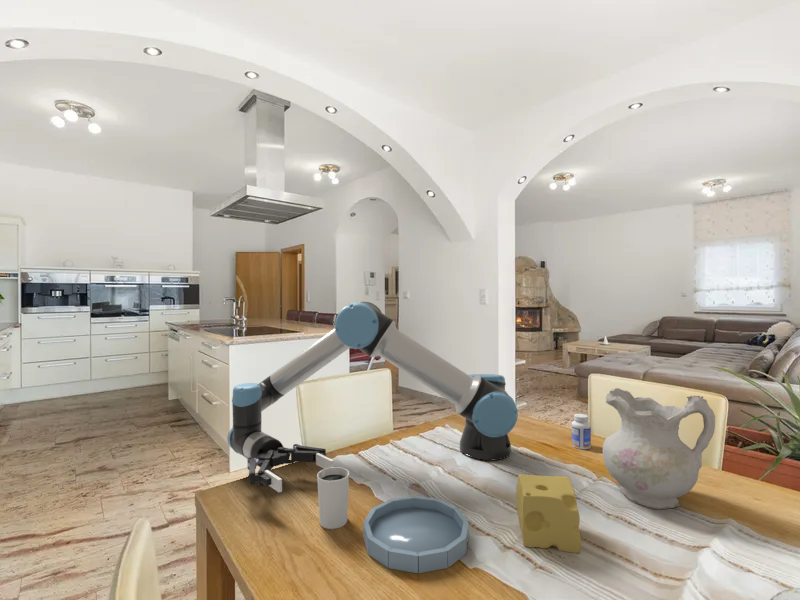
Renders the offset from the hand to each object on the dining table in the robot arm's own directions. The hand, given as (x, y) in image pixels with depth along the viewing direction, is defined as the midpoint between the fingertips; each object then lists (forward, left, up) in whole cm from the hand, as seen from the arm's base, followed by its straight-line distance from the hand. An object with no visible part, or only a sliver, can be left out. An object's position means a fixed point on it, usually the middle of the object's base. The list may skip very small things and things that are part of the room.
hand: (308, 475), depth 92 cm
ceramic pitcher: (-78, +18, -7) cm, 80 cm away
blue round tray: (-20, +18, -6) cm, 28 cm away
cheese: (-45, +24, -7) cm, 51 cm away
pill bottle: (-83, -13, -7) cm, 84 cm away
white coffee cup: (-5, +8, -7) cm, 12 cm away
